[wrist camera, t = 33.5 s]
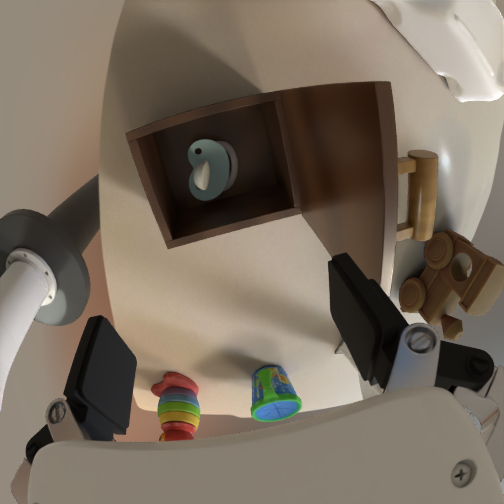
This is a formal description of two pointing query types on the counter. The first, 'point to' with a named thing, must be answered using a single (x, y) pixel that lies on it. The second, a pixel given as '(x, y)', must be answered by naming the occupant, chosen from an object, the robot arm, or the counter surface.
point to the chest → (249, 168)
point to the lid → (357, 173)
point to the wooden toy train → (452, 283)
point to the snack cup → (273, 395)
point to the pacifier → (211, 168)
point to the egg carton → (455, 42)
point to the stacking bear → (177, 407)
